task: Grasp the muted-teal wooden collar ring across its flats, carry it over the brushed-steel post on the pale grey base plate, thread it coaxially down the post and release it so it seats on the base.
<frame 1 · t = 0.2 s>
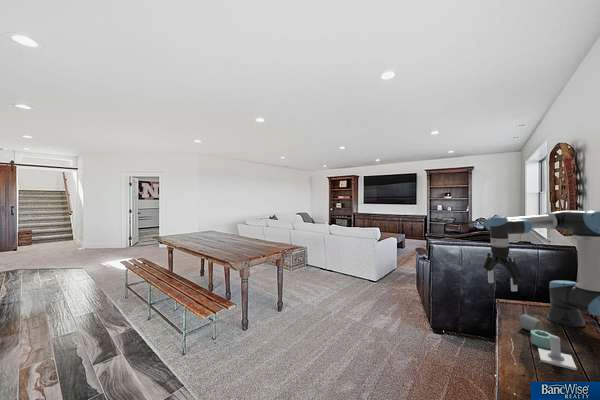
hand: (502, 286, 132), 27 cm above the table, fingers open, 13 cm apart
post: (556, 359, 114), on the table
ring: (542, 343, 126), on the table
ceramic mug: (532, 330, 139), on the table
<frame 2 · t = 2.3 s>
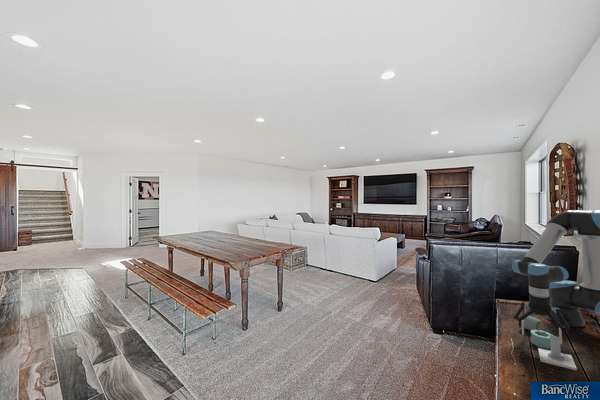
hand: (541, 338, 126), 3 cm above the table, fingers open, 13 cm apart
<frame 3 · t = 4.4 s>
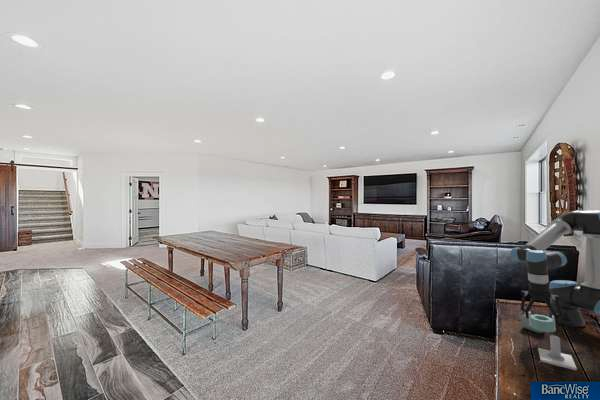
hand: (542, 327, 126), 8 cm above the table, fingers closed on ring, 8 cm apart
ring: (542, 328, 126), point 8 cm above the table, touching gripper
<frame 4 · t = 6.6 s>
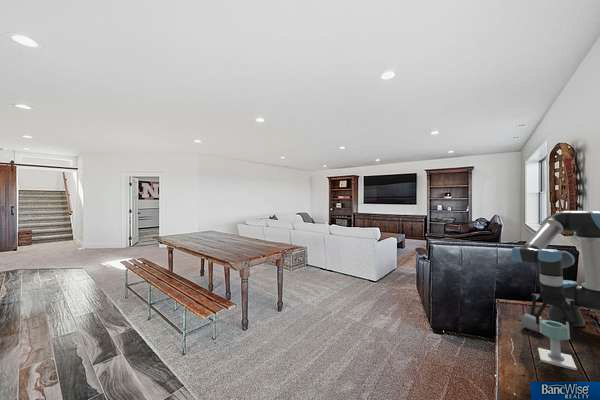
hand: (554, 334, 114), 11 cm above the table, fingers closed on ring, 8 cm apart
ring: (554, 335, 114), point 11 cm above the table, touching gripper
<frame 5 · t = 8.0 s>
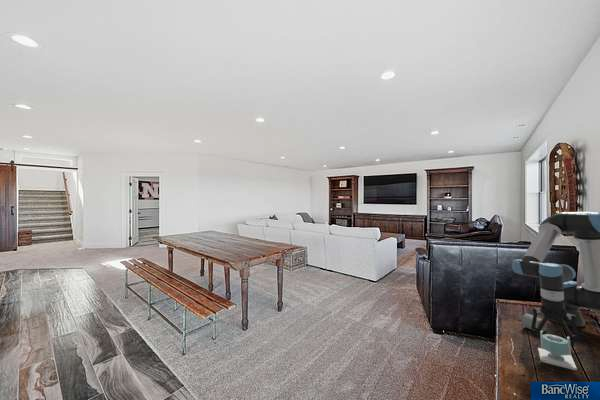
hand: (555, 349, 114), 5 cm above the table, fingers closed on ring, 8 cm apart
ring: (555, 350, 114), point 4 cm above the table, touching gripper
when the fingers open (2 cm above the table, at t = 8.9 s): ring stays where it is, resting on post.
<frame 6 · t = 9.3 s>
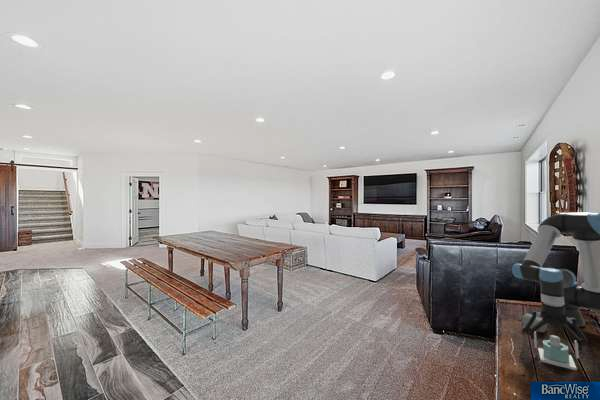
hand: (555, 351, 114), 4 cm above the table, fingers open, 12 cm apart
ring: (555, 356, 114), point 1 cm above the table, touching post
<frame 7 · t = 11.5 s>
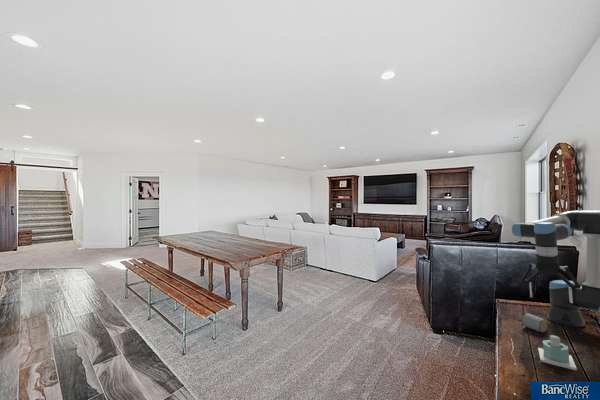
hand: (550, 299, 121), 24 cm above the table, fingers open, 13 cm apart
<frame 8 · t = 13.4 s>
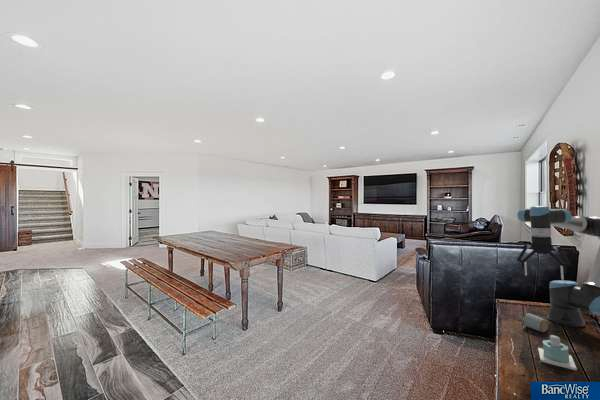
hand: (543, 277, 131), 32 cm above the table, fingers open, 13 cm apart
at the end: ring 0.0 cm from the post (horizontally); ring point 1.5 cm above the table; the gripper is holding nothing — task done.
